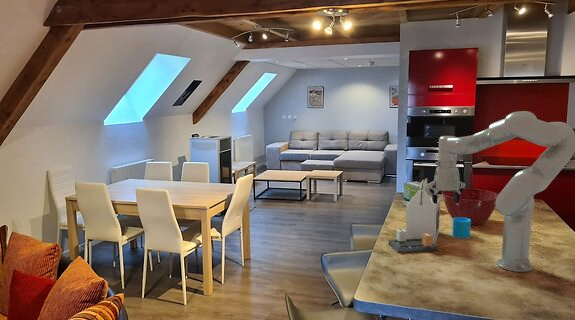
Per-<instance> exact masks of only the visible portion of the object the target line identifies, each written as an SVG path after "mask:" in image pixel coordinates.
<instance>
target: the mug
mask: <svg viewBox="0 0 575 320" xmlns="http://www.w3.org/2000/svg"><path fill="white" fill-rule="evenodd" d="M471 226H472V225H471V220H470V219H468V218H463V217H456V218H452V227H451V228H452V230H451V231H452V233H451V234H452V235H451V236H452V237H455V238H458V239H469V238H471Z"/></svg>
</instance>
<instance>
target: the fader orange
mask: <svg viewBox="0 0 575 320" xmlns="http://www.w3.org/2000/svg"><path fill="white" fill-rule="evenodd" d="M432 238H433V236H432V235H430V234H429V233H425V234H422V244H423V245H425V246H432Z"/></svg>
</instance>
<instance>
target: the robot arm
mask: <svg viewBox="0 0 575 320" xmlns="http://www.w3.org/2000/svg"><path fill="white" fill-rule="evenodd" d="M515 138H520V139H521V140H522V139H523V140H525V141H526V142H530V143H532V144H535V145H538V146H541V147H546V149H545V150H544V151H543V152H542V153H541V154H540V155H539V156H538V158H537V159H536V161H534V162H533V164H532V165H531V166H530V167H527V168H525V169H522V170H520V171H518V172H517V173H516V174H515V175H513V177H511V179H510V180H509V181H508V182H507V184H506V185H505V186H504V188H503V189H502V190H501V191H500V192H499V193H498V196H497V198H496V206H495V209H496V210H497V213H500V215H502V216H504V217H503V219H504V220H503V229H502V251H501V258H500V259H498V260H497V261H496V262H497V263H496V264H497V266H498V267H499V268H501V269H504V270H506V271H511V272H515V273H516V272H517V273H526V272H530V271H533V265H532V264H531V262H530V258H529V257H530V243H531V242H530V241H531V229H532V228H531V227H532V219H533V212H534V208H535V198H534V196H535V195H536V194H539V193H541V192H543V191H545V190H546V189H547V188H548V187H549V185H550V184H551V182H552V181H553V180H554V179H555V178H556V177H557V175H558V174H560V172H561V171H562V169H564V167H565V166H566V165H567V164H568V162H569V161H570V160H571V158H572V157H573V156H574V153H575V131H574V129H573V128H572V127H571V126H570V125H569V124H567V123H566V122H563V121H551V122H547V121H544V120H541V119H538V118H537V116H536V115H535V114H534V113H533V112H531V111H527V110H521V111H514V112H513V111H512V112H511V113H509V114H508V115H506V117H505V118H503V119H499V120H497V121H495V122H492V123H491V124H490V125H489V126H488V128H486V129H484V130H481V131H480V132H477V133H475V134H473V135H467V136H460V137H459V136H458V137H457V136H454V135H441V136H440V137H439V138H438V155H437V157H438V159H437V161H435V162H434V165H435V166H437V167H436V169H435V173H434V179H433V181H431V182H429V184H427V187H428V189H429V191H430V192H431V193H432V201H433V203H435V204H437V197H439V195H438V193H439V192H443V191H455V193H454V202H456V203H459V198H460V194H461V192H462V191H463V190H464V188H466V186H467V185H466V184H467V183H465V182H464V181H463V182H462V181H461V179H460V172H459V168H458V167H457V157H458V156H465V155H469V154H475V153H479V152H481V151H484V150H487V149H489V148H491V147H494V146H497V145H500V144H502V143H505V142H507V141H510V140H513V139H515ZM457 155H458V156H457ZM431 186H433V189H432V188H431ZM436 194H437V195H438V196H437V195H436Z"/></svg>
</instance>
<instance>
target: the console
mask: <svg viewBox="0 0 575 320" xmlns="http://www.w3.org/2000/svg"><path fill="white" fill-rule="evenodd" d="M388 245H389V246H390V247H391V248H392V249H393V250H394V249H395V250H396V251H395V250H394V251H395V252H396V253H397V254H399V253H401V254H402V253H419V252H422V253H423V252H437V251H439V249H438V247H439V246H438V245H437V244H436V243H435V244H434V243H432V246H425V245H423V244H422V239H406V241H401V242H399V241H398V240H397V239H396V238H394V239H388Z"/></svg>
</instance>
